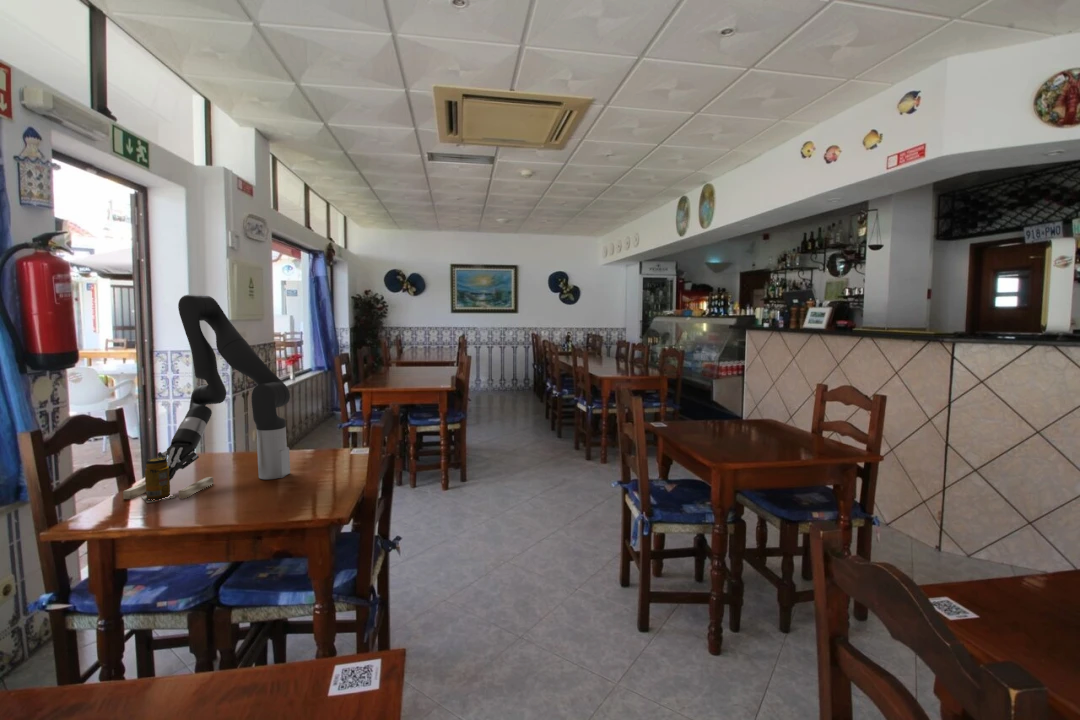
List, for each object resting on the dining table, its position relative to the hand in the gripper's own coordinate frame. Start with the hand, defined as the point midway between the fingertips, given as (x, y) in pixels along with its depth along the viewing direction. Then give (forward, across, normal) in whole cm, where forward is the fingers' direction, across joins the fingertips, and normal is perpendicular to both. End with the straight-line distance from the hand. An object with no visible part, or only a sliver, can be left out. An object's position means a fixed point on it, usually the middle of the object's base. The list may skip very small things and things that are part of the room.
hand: (165, 479), depth 164 cm
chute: (+2, 0, +4) cm, 4 cm away
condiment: (+6, 0, 0) cm, 6 cm away
